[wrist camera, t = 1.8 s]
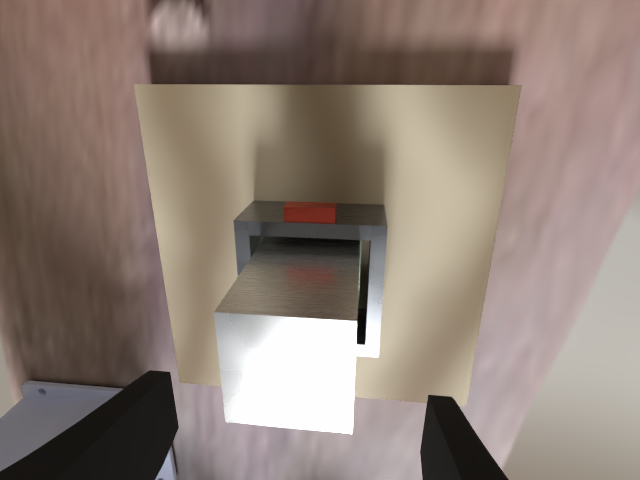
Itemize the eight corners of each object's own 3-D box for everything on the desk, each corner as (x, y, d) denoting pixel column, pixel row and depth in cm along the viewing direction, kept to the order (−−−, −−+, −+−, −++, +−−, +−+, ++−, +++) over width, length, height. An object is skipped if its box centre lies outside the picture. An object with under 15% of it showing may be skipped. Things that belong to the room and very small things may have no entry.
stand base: (190, 365, 24) (179, 382, 23) (151, 84, 18) (133, 84, 17) (459, 386, 23) (465, 406, 21) (508, 85, 17) (521, 85, 15)
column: (277, 298, 20) (224, 423, 13) (274, 221, 18) (211, 310, 11) (358, 303, 20) (353, 435, 12) (362, 224, 18) (358, 319, 11)
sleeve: (260, 312, 20) (243, 347, 18) (253, 187, 18) (232, 205, 15) (376, 319, 20) (378, 357, 17) (385, 191, 17) (388, 211, 15)
